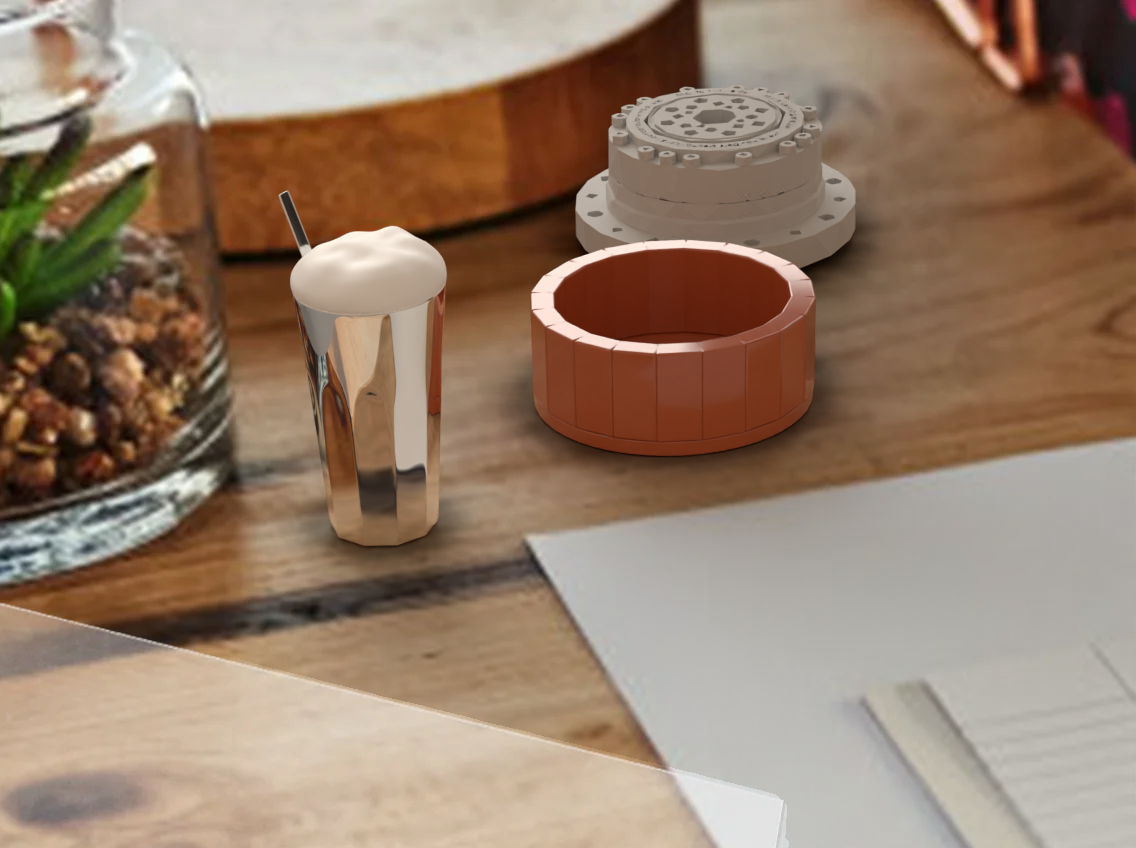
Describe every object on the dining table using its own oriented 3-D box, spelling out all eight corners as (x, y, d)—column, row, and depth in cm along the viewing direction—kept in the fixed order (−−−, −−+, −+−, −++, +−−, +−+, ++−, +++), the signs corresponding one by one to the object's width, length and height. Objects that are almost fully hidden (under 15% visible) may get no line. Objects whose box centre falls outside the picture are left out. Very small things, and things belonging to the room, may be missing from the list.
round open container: (865, 373, 102) (867, 272, 100) (716, 480, 96) (715, 376, 94) (634, 317, 107) (632, 220, 105) (479, 416, 101) (474, 316, 99)
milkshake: (354, 470, 98) (333, 167, 93) (489, 512, 95) (475, 202, 90) (259, 526, 96) (231, 217, 90) (394, 572, 92) (374, 255, 87)
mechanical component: (774, 309, 107) (903, 208, 113) (776, 186, 104) (906, 91, 111) (524, 260, 112) (661, 166, 118) (520, 142, 109) (660, 53, 116)
